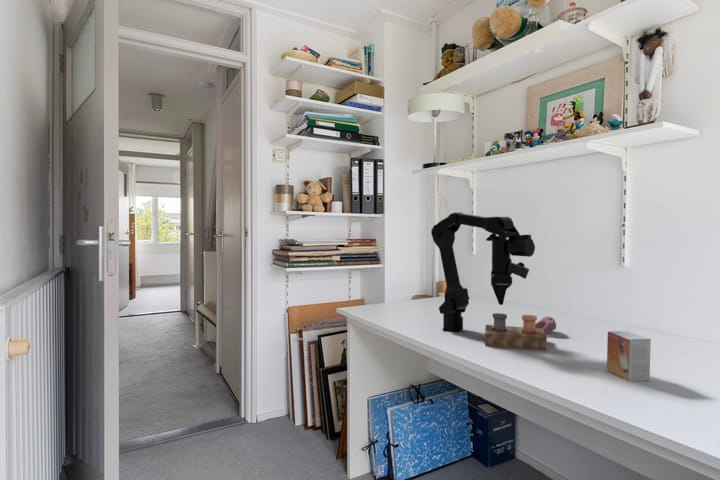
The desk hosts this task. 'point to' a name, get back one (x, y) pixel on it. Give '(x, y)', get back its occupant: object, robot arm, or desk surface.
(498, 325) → the grey plug
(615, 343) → the small box
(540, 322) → the video game controller
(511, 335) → the walnut block
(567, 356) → the desk surface
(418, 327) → the desk surface
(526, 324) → the terracotta plug
